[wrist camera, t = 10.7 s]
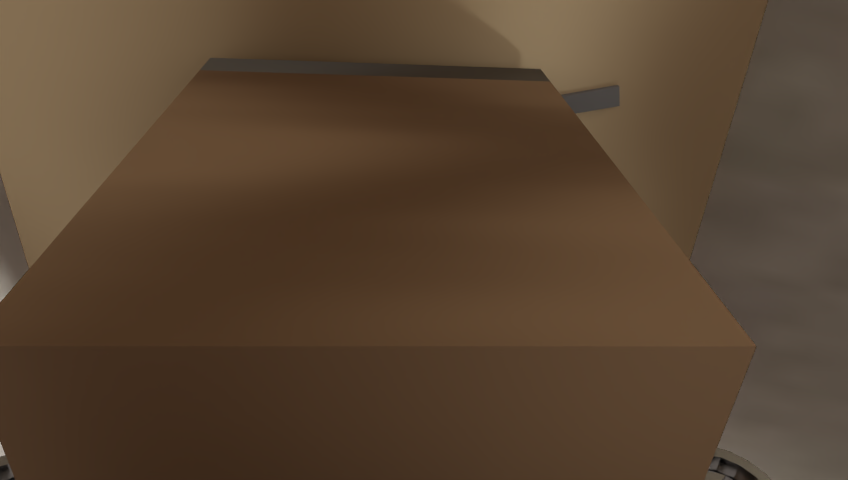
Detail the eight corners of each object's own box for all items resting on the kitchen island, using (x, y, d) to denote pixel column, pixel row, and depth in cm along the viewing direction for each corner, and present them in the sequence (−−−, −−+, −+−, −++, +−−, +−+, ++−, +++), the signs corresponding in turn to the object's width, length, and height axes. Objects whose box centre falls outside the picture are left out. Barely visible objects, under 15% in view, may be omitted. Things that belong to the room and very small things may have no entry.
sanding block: (540, 69, 9) (756, 345, 4) (484, 465, 13) (555, 862, 8) (210, 57, 9) (-38, 346, 4) (257, 468, 13) (173, 885, 8)
